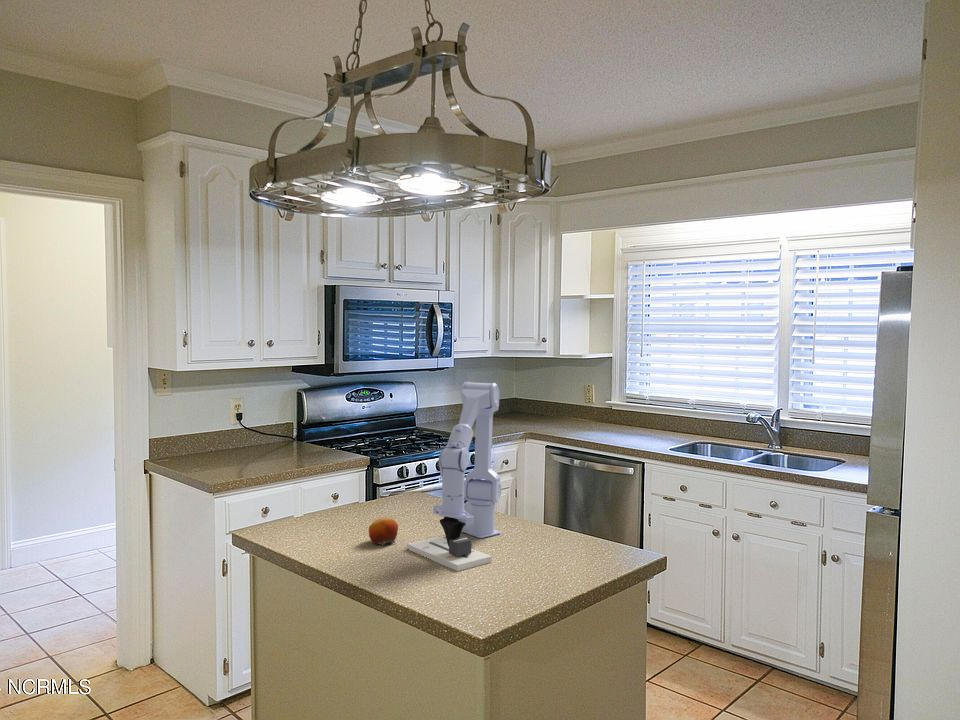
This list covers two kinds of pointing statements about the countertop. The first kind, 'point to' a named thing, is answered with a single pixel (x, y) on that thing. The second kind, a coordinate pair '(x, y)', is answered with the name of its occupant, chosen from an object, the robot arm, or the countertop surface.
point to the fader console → (447, 554)
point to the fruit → (383, 531)
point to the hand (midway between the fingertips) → (452, 546)
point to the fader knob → (460, 546)
